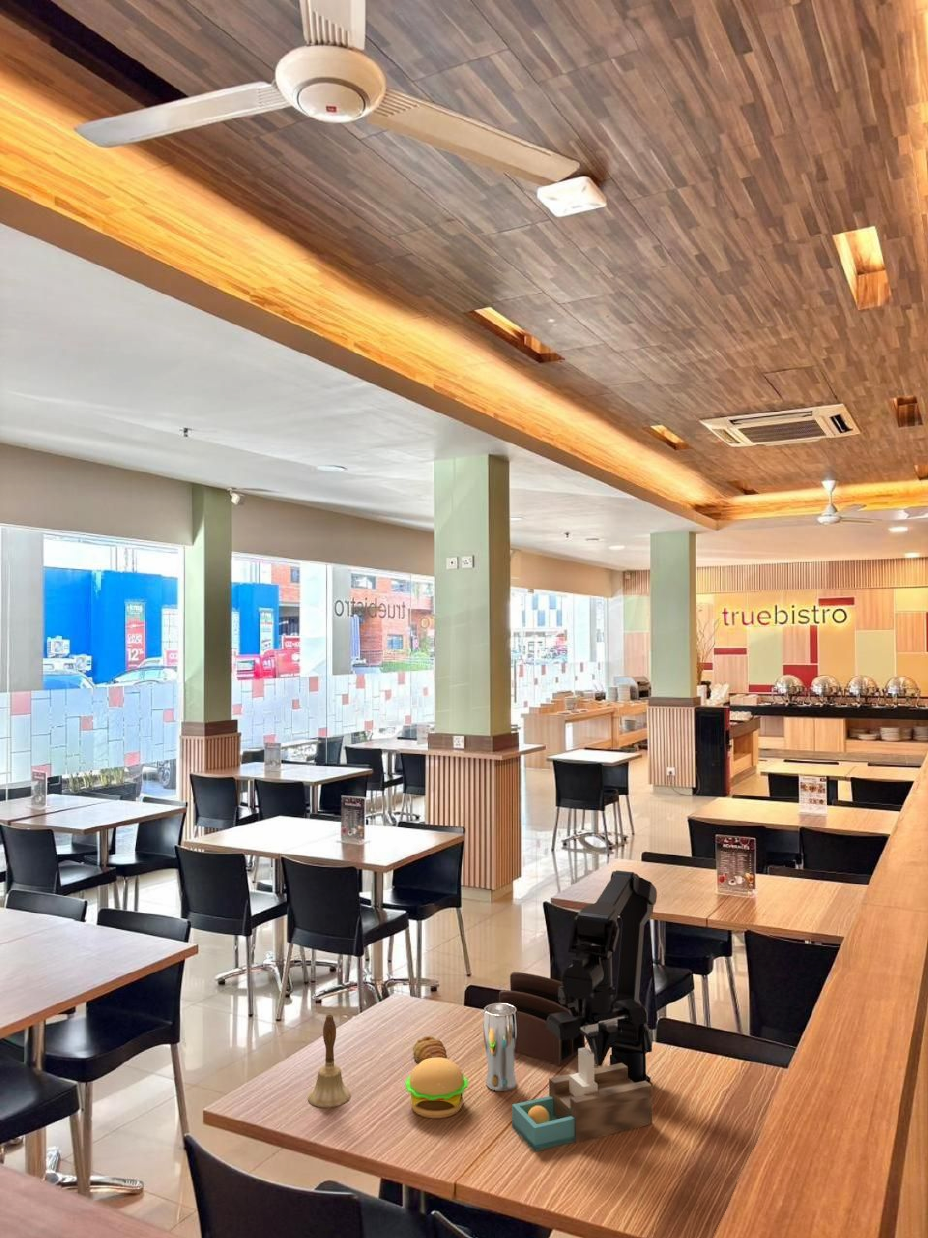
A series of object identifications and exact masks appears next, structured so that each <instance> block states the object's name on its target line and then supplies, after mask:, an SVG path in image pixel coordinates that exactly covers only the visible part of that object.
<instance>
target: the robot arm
mask: <svg viewBox="0 0 928 1238" xmlns="http://www.w3.org/2000/svg"><path fill="white" fill-rule="evenodd" d="M657 895H658V893H657V888H656V886H654V884H653V883H652V882H651V881H649V880H647V879H644V878H643V877H640V875H639V874H638V873H635V872H633V871H625V870H613V871H612V872H611V875H610V880H609V882H608V883H607V884H606V886H605V888H604V889H603V891H602V892H601V894H600V895H599V897H598V899H597V900H596V902H594V903H591V904H588V905H585V906H584V907H583V908H582V909H581V910H580V911H578V914H577V915H576V916H575V917H574V921H573V925H572V930H571V935H570V939H569V944H568V949H567V953H570V954H575V956H574V957H573V958H572V960H571V961H572V964H571V965H570V966H568V968H566V969H565V970H564V973H563V975H562V978H561V982H563V986H562V987H558V998H559V1002H560V1004H568V1008H571V1007H575V1010H576V1011H577V1012H582V1015H581V1016H576V1017H573V1016H572V1015H571V1014H569V1013H568V1012H566V1011H564V1012H559V1013H554V1014H550V1015H549V1017H548V1019H547V1030H549V1031H550V1032H551V1033H553V1034H554V1035H555V1036H556V1037H558V1038H559V1039H560V1040H568V1039H573V1038H577V1037H578V1035H579V1034H580V1033H581V1034H583V1035H584V1036H585V1041H586V1042H587V1044H588V1047H589V1050H590V1051H591V1052H592V1053H594V1064H595V1065H596V1066H597V1067H603V1063H604V1061H605V1060H606V1058H607V1055H608V1053H609V1050H610V1049H611V1053H610V1055H609V1065H613V1064H618V1063H623V1064H624V1065H626V1066H627V1067H628V1078H629V1079H630V1080H632V1081H633V1082H634V1083H637V1082H641V1081H647V1082H648V1083H649V1082H650V1081H651V1077H650V1076H648V1074H647V1066H646V1065H647V1058H646V1055H647V1053H652V1052H653V1033H652V1032H651V1030H650V1028H649V1026H648V1021H649V1019H648V1014H649V1013H648V1011H647V1009H646V1007H645V1006H644V1005H642V1002H641V1001H640V989H641V988H640V987H641V975H642V960H643V959H642V958H643V947H644V946H643V945H644V933H645V932H644V931H645V925H646V923H647V922H648V920H650V918H651V916H652V915H653V913H654V906H655V905H656V903H657V898H658V897H657ZM619 918H620V921H621V928H620V927H619V924H618V921H617V920H618V919H619ZM620 929H621V930H620ZM619 934H620V942H619V943H620V944H619V952H618V953H619V955H618V956H619V957H618V967H617V968H618V969H617V982H616V987H614V986H613V966H612V965H613V964H612V963H613V962H612V961H613V960H612V959H613V958H612V954H613V953H615V951H616V948H617V947H616V946H617V943H618V940H619V939H618V938H619ZM578 942H580V943H578ZM613 996H615V997H613Z"/></svg>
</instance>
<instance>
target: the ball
mask: <svg viewBox="0 0 928 1238" xmlns="http://www.w3.org/2000/svg"><path fill="white" fill-rule="evenodd" d="M528 1116H529V1117H530V1118H531V1119H532V1120H533V1121H534V1122H535V1123H536V1124H540V1123H544V1122H549V1121H550V1117H549V1113H548V1111H547V1110H546V1109H545V1108H544V1107H542V1106H534V1107H532V1108H531V1109H530V1110H529V1112H528Z"/></svg>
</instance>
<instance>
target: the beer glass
mask: <svg viewBox="0 0 928 1238" xmlns="http://www.w3.org/2000/svg"><path fill="white" fill-rule="evenodd" d="M483 1010H484V1012H483V1030H482V1032H483V1042H484V1043H483V1044H484V1048H485V1049H484V1050H485V1055H486V1059H487V1075H486V1080H485V1084H487V1086H488V1087H489V1088H490V1089H489V1088H488V1087H487V1086H486V1087H487V1088H488V1089H489V1090H491V1089H492V1091H494V1090H495V1091H494V1092H499V1091H504V1092H508V1091H512V1090H513V1089H515V1088H516V1086H517V1080H516V1074H515V1058H516V1053H517V1052H516V1047H517V1039H518V1022H517V1009H516V1007H515V1006H513V1005H511V1004H507V1003H499V1002H494V1003H491V1004H487V1005H486V1006H485V1007H484V1008H483Z"/></svg>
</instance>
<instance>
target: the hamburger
mask: <svg viewBox="0 0 928 1238" xmlns="http://www.w3.org/2000/svg"><path fill="white" fill-rule="evenodd" d="M468 1086H469V1081H468V1078H466V1077H465V1075H464V1073H463V1072H462V1070H461V1068H460V1066H459V1065H458V1064H456V1062H454V1061H453V1060H451V1059H449V1058H447V1059H446V1058H429V1059H425V1060H423V1061H422V1062H420V1063H418V1064H417V1065H415V1067H414V1068H413V1069H412V1071H411V1073H410V1075H408V1077H407V1079H406V1082H405V1089H406V1091H407V1092H408V1093H410V1101H409V1102H410V1107H411V1108H412V1110H413V1111H414V1112H415V1113H416V1114H417V1115H419V1116H421V1117H423V1118H427V1119H444V1118H448V1117H452V1116H454V1115H455V1114H457V1113H458V1112H460V1110H461V1108H462V1106H463V1105H464V1097H463V1093H464V1091H465V1090H466V1089H467V1088H468Z"/></svg>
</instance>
